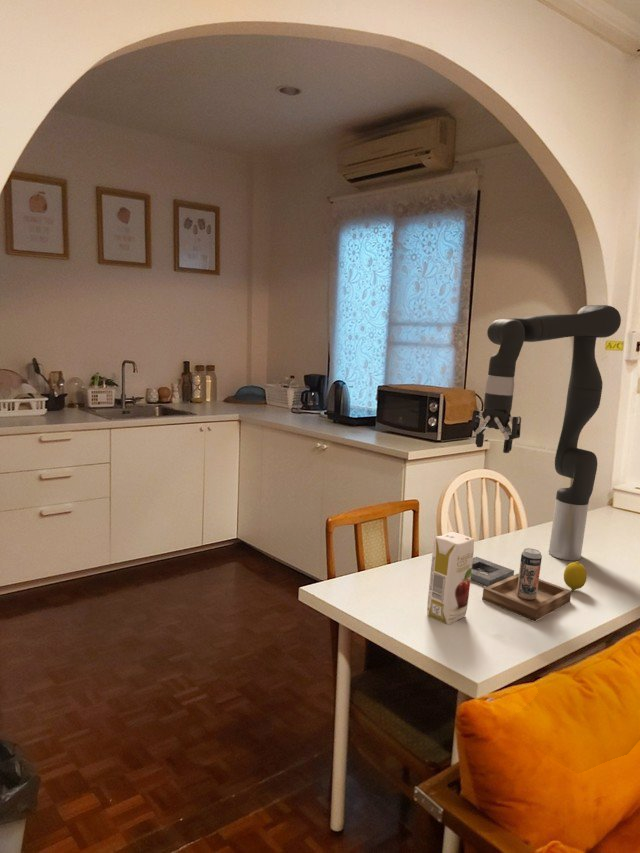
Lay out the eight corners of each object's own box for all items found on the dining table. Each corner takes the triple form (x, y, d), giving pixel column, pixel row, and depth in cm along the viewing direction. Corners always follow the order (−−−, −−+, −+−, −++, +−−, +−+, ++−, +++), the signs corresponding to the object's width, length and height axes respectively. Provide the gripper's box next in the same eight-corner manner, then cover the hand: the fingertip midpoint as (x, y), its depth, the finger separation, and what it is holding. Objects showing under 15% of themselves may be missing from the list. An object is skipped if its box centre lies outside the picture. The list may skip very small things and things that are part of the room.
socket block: (475, 563, 179) (476, 556, 179) (513, 577, 170) (514, 570, 170) (451, 572, 171) (451, 565, 170) (489, 587, 162) (490, 580, 162)
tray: (519, 582, 167) (520, 572, 166) (570, 602, 157) (571, 590, 156) (482, 599, 155) (483, 588, 154) (534, 621, 145) (535, 609, 144)
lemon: (582, 588, 166) (586, 559, 165) (585, 596, 161) (589, 567, 160) (560, 584, 168) (564, 556, 166) (562, 592, 162) (567, 563, 161)
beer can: (516, 599, 154) (522, 553, 152) (515, 591, 158) (521, 546, 156) (537, 602, 153) (543, 555, 151) (535, 594, 157) (541, 549, 155)
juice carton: (421, 614, 144) (429, 536, 141) (443, 605, 150) (451, 529, 147) (449, 627, 139) (458, 546, 136) (470, 616, 145) (479, 538, 142)
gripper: (529, 395, 170) (522, 453, 172) (484, 389, 180) (478, 444, 183) (515, 396, 165) (508, 456, 167) (469, 389, 175) (463, 446, 178)
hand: (492, 449), depth 175 cm, fingers open, 8 cm apart
